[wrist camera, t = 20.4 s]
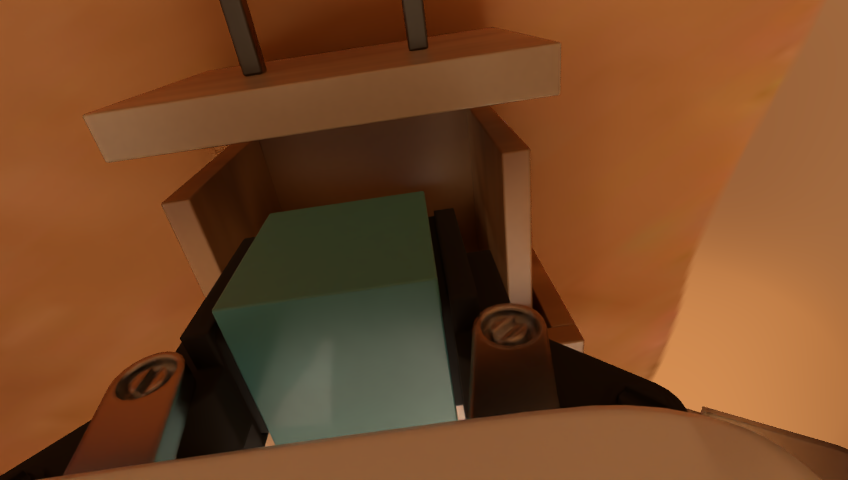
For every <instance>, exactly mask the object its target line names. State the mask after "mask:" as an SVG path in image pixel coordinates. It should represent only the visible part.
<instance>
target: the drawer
mask: <svg viewBox="0 0 848 480" xmlns="http://www.w3.org/2000/svg"><path fill="white" fill-rule="evenodd" d="M219 1H220V4H221V7H222V10H223V13H224V16H225V19H226V23H227V26H228V29H229V32H230V35H231V38H232V41H233V44H234V48H235V51H236V54H237V57H238V60H239V63H240V66H235V67H229V68H222V69H216V70H209V71H206V72H203V73H200V74H197V75H194V76H192V77H189V78H186V79H183V80H180V81H177V82H175V83H172V84H169V85H166V86H163V87H160V88H157V89H155V90H152V91H149V92H146V93H143V94H140V95H138V96H135V97H132V98H129V99H126V100H123V101H120V102H118V103H115V104H112V105H109V106H106V107H103V108H101V109H98V110H95V111H92V112H89V113H86V114H84V115H83V118H84V120H85V122H86V124H87V126H88V128H89V130H90V132H91V134H92V136H93V138H94V140H95V142H96V144H97V146H98V147H99V149H100V151H101V153H102V155H103V157H104V159H105V161H106V162H108V163H110V162H116V161H123V160H130V159H136V158H143V157H150V156H156V155H163V154H170V153H176V152H183V151H189V150H196V149H203V148H209V147H216V146H223V145H229V144H231V145H230V146H228V147H227V148H226V149H225V150H224V151H222V152H221V153H220V154H219V155H218V156H217V157H215V158H214V159H213V160H212V161H211V162H210V163H208V164H207V165H206V166H205V167H204V168H202V169H201V170H200V171H199V172H198V173H197V174H195V175H194V176H193V177H192V178H191V179H190V180H188V181H187V182H186V183H185V184H184V185H182V186H181V187H180V188H179V189H178V190H177V191H175V192H174V193H173V194H172V195H171V196H170V197H168V198H167V199H166V200H165V201H164V202H162V204H161V205H162V207H163V209H164V212H165V214H166V216H167V218H168V220H169V222H170V224H171V226H172V228H173V231H174V233H175V235H176V237H177V239H178V241H179V243H180V245H181V247H182V250H183V252H184V254H185V256H186V258H187V260H188V262H189V264H190V266H191V269H192V271H193V273H194V275H195V277H196V279H197V281H198V283H199V285H200V288H201V290H202V292H203V294H204V296H205V298H206V297H207V295H208V294H209V292H210V291H211V289H212V287H213V286H214V284H215V283H216V281H217V280H218V278H219V277H220V275H221V274H222V272H223V270H224V269H225V267H226V266H227V264H228V263H229V261H230V260H231V258H232V256H233V255H234V253H235V252H236V250H237V249H238V247H239V246H240V244H241V242H242V241H243V240H244V239H245V238H251V237H256V236H257V234H258V232H259V231H260V229H261V227H262V226H263V224H264V222H265V221H266V219H267V217H268V216H269V214H270V213H277V212H283V211H290V210H297V209H304V208H310V207H317V206H324V205H331V204H338V203H344V202H351V201H358V200H365V199H371V198H378V197H385V196H392V195H399V194H405V193H412V192H419V191H424V193H425V200H426V206H427V213H428V217H430V216H434V211H435V210H442V209H449V208H454V211H455V215H456V218H457V222H458V225H459V229H460V233H461V236H462V240H463V243H464V247H465V250H466V253H469V252H476V251H483V250H490V251H491V253H492V255H493V258H494V261H495V263H496V266H497V269H498V271H499V274H500V276H501V279H502V282H503V284H504V287H505V289H506V292H507V295H508V297H509V300H510V303H515V304H521V305H525V306H528V307H530V308H532V309H533V307H532V235H531V163H530V148H529V147H528V146H527V145H526V144H525V143H524V142H523V141H522V140H521V139H520V138H519V137H518V136H517V135H516V134H515V132H514V131H513V130H512V129H511V128H510V127H509V126H508V125H507V124H506V123H505V122H504V121H503V120H502V119H501V118H500V116H499V115H498V114H497V113H496V112H495V111H494V110H493V109H492V108H491V107H490V106H489V105H495V104H502V103H509V102H515V101H522V100H529V99H535V98H542V97H549V96H555V95H559V94H560V81H561V43H560V42H556V41H552V40H547V39H543V38H539V37H534V36H530V35H525V34H521V33H516V32H512V31H508V30H503V29H499V28H494V27H491V28H484V29H478V30H471V31H465V32H458V33H452V34H445V35H439V36H432V37H427V29H426V21H425V12H424V4H423V0H402V7H403V15H404V22H405V29H406V36H407V40H406V41H399V42H393V43H386V44H380V45H373V46H366V47H360V48H353V49H347V50H340V51H334V52H327V53H321V54H314V55H307V56H301V57H294V58H288V59H281V60H275V61H268V62H264V58H263V55H262V51H261V48H260V45H259V41H258V38H257V34H256V31H255V27H254V24H253V21H252V17H251V14H250V10H249V7H248V4H247V0H219Z"/></svg>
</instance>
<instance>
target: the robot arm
mask: <svg viewBox="0 0 848 480" xmlns="http://www.w3.org/2000/svg"><path fill="white" fill-rule="evenodd" d="M428 219H429V226H430V232H431V239H432V245H433V252H434V258H435V265H436V271H437V278H438V285H439V292H440V299H441V306H442V317H443V324H444V331H445V338H446V345H447V352H448V359H449V366H450V373H451V380H452V387H453V394H454V401H455V405H456V406H460V405H463V408H464V414H465V420H458V421H450V422H443V423H435V424H428V425H421V426H413V427H406V428H398V429H391V430H383V431H376V432H368V433H361V434H353V435H346V436H339V437H331V438H324V439H317V440H310V441H302V442H295V443H288V444H281V445H274V446H266V447H265V444H266V441H267V438H268V434H269V431H268V429H267V427H266V425H265V422H264V420H263V418H262V416H261V414H260V412H259V410H258V408H257V406H256V403H255V401H254V399H253V397H252V395H251V393H250V391H249V389H248V387H247V385H246V382H245V380H244V378H243V376H242V374H241V372H240V370H239V368H238V366H237V364H236V361H235V359H234V357H233V355H232V353H231V351H230V349H229V347H228V345H227V343H226V340H225V338H224V336H223V334H222V332H221V330H220V328H219V326H218V324H217V322H216V319H215V317H214V315H213V313H212V309H213V307H214V306H215V304H216V302H217V301H218V299H219V297H220V296H221V294H222V292H223V291H224V289H225V287H226V286H227V284H228V282H229V281H230V279H231V277H232V276H233V274H234V272H235V271H236V269H237V267H238V266H239V264H240V262H241V261H242V259H243V257H244V256H245V254H246V252H247V251H248V249H249V247H250V246H251V244H252V242H253V241H254V239H255V237H251V238H245V239H244V240H243V241H242V242H241V244H240V246H239V247H238V249H237V250H236V252H235V253H234V255H233V256H232V258H231V260H230V261H229V263H228V264H227V266H226V267H225V269H224V270H223V272H222V274H221V275H220V277H219V278H218V280H217V281H216V283H215V284H214V286H213V287H212V289H211V291H210V292H209V294H208V295H207V297H206V298H205V300H204V301H203V303H202V305H201V306H200V308H199V309H198V311H197V312H196V314H195V315H194V317H193V319H192V320H191V322H190V323H189V325H188V326H187V328H186V329H185V331H184V333H183V334H182V336H181V337H180V339H181V341H182V343H181V344H180V346H179V347H178V349H177V351H176V352H168V351H167V352H161V353H156V354H153V355H151V356H148V357H145V358H143V359H141V360H139V361H137V362H135V363H134V364H132V365H131V366H129V367H128V368H126V369H125V370H123V371H122V372H121V373H120V374H119V375H118V376H117V377H116V378H115V379H114V380H113V382H112V383H111V385H110V386H109V387H108V389H107V391H106V393H105V395H104V397H103V399H102V401H101V403H100V405H99V406H98V408H97V410H96V412H95V414H94V416H93V418H92V420H90V421H89V422H87V423H86V424H84V425H82V426H81V427H79V428H77V429H76V430H74V431H73V432H71V433H69V434H68V435H66V436H65V437H63V438H61V439H60V440H58V441H56V442H55V443H53V444H52V445H50V446H48V447H47V448H45V449H43V450H42V451H40V452H39V453H37V454H35V455H34V456H32V457H31V458H29V459H27V460H26V461H24V462H22V463H21V464H19V465H18V466H16V467H14V468H13V469H11V470H9V471H8V472H6V473H5V474H3V475H1V476H0V480H848V449H846V448H843V447H841V446H838V445H835V444H831V443H828V442H825V441H821V440H818V439H814V438H810V437H807V436H804V435H800V434H797V433H793V432H789V431H787V430H783V429H779V428H776V427H773V426H769V425H765V424H762V423H759V422H755V421H751V420H748V419H745V418H741V417H738V416H734V415H730V414H727V413H724V412H720V411H717V410H713V409H710V408H706V407H702V410H701V413H699V412H696V411H693V410H690V409H686V408H685V407H684V405H683V404H682V402H681V401H680V400H679V399H678V398H677V397H676V396H675V395H674V394H672V393H671V392H670V391H669V390H667V389H665V388H664V387H662V386H660V385H658V384H656V383H654V382H651V381H649V380H647V379H644V378H642V377H639V376H637V375H635V374H632V373H630V372H627V371H625V370H623V369H620V368H618V367H615V366H613V365H611V364H608V363H606V362H603V361H601V360H599V359H596V358H594V357H591V356H589V355H587V354H584V353H582V352H579V351H577V350H575V349H572V348H570V347H567V346H565V345H563V344H560V343H558V342H555V341H553V340H551V339H549V337H548V331H547V325H546V323H545V320H544V318H543V317H542V316H541V315H540V314H539V313H538V312H537V311H536V310H534V309H532V308H530V307H528V306H525V305H521V304H515V303H510V300H509V297H508V295H507V292H506V289H505V287H504V284H503V282H502V279H501V276H500V274H499V271H498V269H497V266H496V263H495V261H494V258H493V255H492V253H491V251H490V250H483V251H476V252H469V253H466V250H465V247H464V243H463V240H462V236H461V233H460V229H459V225H458V222H457V218H456V215H455V211H454V208H449V209H442V210H435V211H434V216H430V217H428Z"/></svg>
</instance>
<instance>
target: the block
mask: <svg viewBox="0 0 848 480" xmlns="http://www.w3.org/2000/svg"><path fill="white" fill-rule="evenodd" d="M212 313H213V315H214V317H215V319H216V322H217V324H218V326H219V328H220V330H221V332H222V334H223V336H224V338H225V340H226V343H227V345H228V347H229V349H230V351H231V353H232V355H233V357H234V359H235V361H236V364H237V366H238V368H239V370H240V372H241V374H242V376H243V378H244V380H245V382H246V385H247V387H248V389H249V391H250V393H251V395H252V397H253V399H254V401H255V403H256V406H257V408H258V410H259V412H260V414H261V416H262V418H263V420H264V422H265V425H266V427H267V429H268V431H269V433H270V435H271V437H272V439H273V441H274V443H275V445H281V444H288V443H295V442H302V441H310V440H317V439H324V438H331V437H339V436H346V435H353V434H361V433H368V432H376V431H383V430H391V429H398V428H406V427H413V426H421V425H428V424H435V423H443V422H450V421H458V418H457V411H456V405H455V401H454V394H453V387H452V380H451V373H450V366H449V359H448V352H447V345H446V338H445V331H444V324H443V317H442V306H441V299H440V292H439V285H438V278H437V271H436V265H435V258H434V252H433V245H432V239H431V232H430V226H429V219H428V213H427V206H426V200H425V193H424V191H419V192H412V193H405V194H399V195H392V196H385V197H378V198H371V199H365V200H358V201H351V202H344V203H338V204H331V205H324V206H317V207H310V208H304V209H297V210H290V211H283V212H277V213H270V214H269V216H268V217H267V219H266V221H265V222H264V224H263V226H262V227H261V229H260V231H259V232H258V234H257V236H256V237H255V239H254V241H253V242H252V244H251V246H250V247H249V249H248V251H247V252H246V254H245V256H244V257H243V259H242V261H241V262H240V264H239V266H238V267H237V269H236V271H235V272H234V274H233V276H232V277H231V279H230V281H229V282H228V284H227V286H226V287H225V289H224V291H223V292H222V294H221V296H220V297H219V299H218V301H217V302H216V304H215V306H214V307H213V309H212Z"/></svg>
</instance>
